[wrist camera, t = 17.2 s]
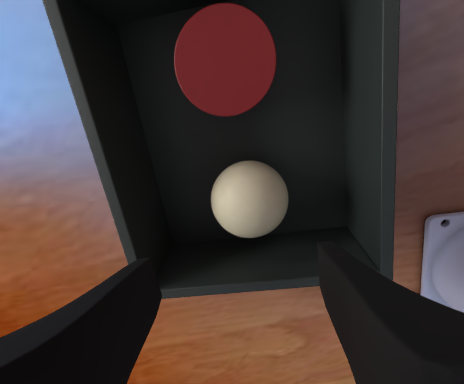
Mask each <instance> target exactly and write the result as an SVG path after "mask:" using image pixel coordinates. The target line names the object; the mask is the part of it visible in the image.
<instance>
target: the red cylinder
mask: <svg viewBox="0 0 464 384" xmlns="http://www.w3.org/2000/svg"><path fill="white" fill-rule="evenodd" d="M276 63H277V56H276V48H275V43H274V40H273V37H272V35H271V32H270V30H269V29H268V27H267V25H266V24H265V23H264V22H263V20H262V19H261V18H260V17H259V16H258V15H257V14H256V13H254V12H253V11H251V10H250V9H248V8H246V7H244V6H241V5H238V4H234V3H216V4H213V5H209V6H207V7H205V8H203V9H201V10H199V11H198V12H196V13H195V14H194V15H193V16H192V17H191V18H190V19H189V20H188V21H187V22H186V24H185V25H184V27H183V28H182V30H181V32H180V34H179V36H178V39H177V42H176V46H175V52H174V67H175V73H176V77H177V80H178V83H179V85H180V87H181V89H182V91H183V93H184V94H185V96H186V97H187V98H188V99H189V100H190V102H191V103H192V104H194V105H195V106H196V107H197V108H199V109H200V110H202V111H204V112H206V113H208V114H212V115H215V116H223V117H228V116H235V115H239V114H242V113H244V112H246V111H248V110H250V109H252V108H253V107H254V106H256V105H257V104H258V103H259V102H260V101H261V100H262V99H263V98H264V96H265V95H266V94H267V92H268V90H269V89H270V86H271V84H272V82H273V79H274V76H275V71H276Z"/></svg>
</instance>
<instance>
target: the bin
mask: <svg viewBox="0 0 464 384" xmlns="http://www.w3.org/2000/svg"><path fill="white" fill-rule="evenodd" d="M216 3H234V4H238V5H241V6H244V7H246V8H248V9H250V10H251V11H253V12H254V13H256V14H257V15H258V16H259V17H260V18H261V19H262V20H263V22H264V23H265V24H266V25H267V27H268V29H269V30H270V32H271V35H272V37H273V40H274V43H275V48H276V56H277V63H276V71H275V76H274V79H273V82H272V84H271V86H270V89H269V90H268V92H267V94H266V95H265V96H264V98H263V99H262V100H261V101H260V102H259V103H258V104H257V105H256V106H254V107H253V108H252V109H250V110H248V111H246V112H244V113H242V114H239V115H235V116H228V117H223V116H215V115H212V114H208V113H206V112H204V111H202V110H200V109H199V108H197V107H196V106H195V105H194V104H192V103H191V102H190V100H189V99H188V98H187V97H186V96H185V94H184V93H183V91H182V89H181V87H180V85H179V83H178V80H177V77H176V73H175V67H174V52H175V46H176V42H177V39H178V36H179V34H180V32H181V30H182V28H183V27H184V25H185V24H186V22H187V21H188V20H189V19H190V18H191V17H192V16H193V15H194V14H195V13H196V12H198V11H199V10H201V9H203V8H205V7H207V6H209V5H213V4H216ZM43 4H44V7H45V10H46V13H47V16H48V19H49V22H50V25H51V28H52V31H53V34H54V37H55V40H56V43H57V47H58V50H59V53H60V56H61V59H62V62H63V65H64V68H65V71H66V74H67V77H68V80H69V83H70V86H71V90H72V93H73V96H74V99H75V102H76V105H77V108H78V111H79V114H80V117H81V120H82V123H83V126H84V129H85V132H86V136H87V139H88V142H89V145H90V148H91V151H92V154H93V157H94V160H95V163H96V166H97V169H98V172H99V175H100V179H101V182H102V185H103V188H104V191H105V194H106V197H107V200H108V203H109V206H110V209H111V212H112V215H113V218H114V222H115V225H116V228H117V231H118V234H119V237H120V240H121V243H122V246H123V249H124V252H125V255H126V258H127V261H128V265H129V264H130V263H132V262H134V261H136V260H137V259H143V258H152V261H153V265H154V268H155V272H156V275H157V279H158V283H159V286H160V290H161V293H162V298H161V299H166V298H178V297H190V296H203V295H215V294H227V293H239V292H252V291H264V290H276V289H288V288H301V287H313V286H320V284H319V269H318V253H317V242H326V241H333V242H334V243H336V244H337V245H339V246H340V247H341V248H343V249H344V250H345V251H347V252H348V253H349V254H351V255H352V256H354V257H355V258H356V259H358V260H359V261H361V262H362V263H364V264H365V265H367V266H368V267H370V268H372V269H373V270H375V271H376V272H378V273H380V274H381V275H383V276H385V277H386V278H388V279H390V280H393V254H394V216H395V177H396V139H397V100H398V62H399V23H400V0H43ZM241 161H258V162H262V163H265V164H267V165H269V166H270V167H272V168H273V169H274V170H276V171H277V172H278V173H279V175H280V176H281V177H282V179H283V180H284V182H285V184H286V187H287V191H288V200H289V201H288V208H287V212H286V214H285V216H284V218H283V220H282V221H281V223H280V224H279V225H278V226H277V227H276V228H275V229H274V230H273V231H271V232H270V233H268V234H266V235H263V236H260V237H256V238H244V237H239V236H236V235H234V234H232V233H230V232H228V231H227V230H226V229H224V228H223V227H222V226H221V225H220V223H219V222H218V221H217V219H216V217H215V216H214V213H213V210H212V206H211V192H212V188H213V185H214V183H215V181H216V179H217V178H218V176H219V175H220V174H221V173H222V171H224V170H225V169H226V168H227V167H229V166H230V165H232V164H235V163H237V162H241Z"/></svg>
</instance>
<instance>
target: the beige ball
mask: <svg viewBox="0 0 464 384" xmlns="http://www.w3.org/2000/svg"><path fill="white" fill-rule="evenodd" d="M288 201H289V200H288V191H287V187H286V184H285V182H284V180H283V179H282V177H281V176H280V175H279V173H278V172H277V171H276V170H274V169H273V168H272V167H270V166H269V165H267V164H265V163H262V162H258V161H241V162H237V163H235V164H232V165H230V166H229V167H227V168H226V169H225V170H224V171H222V173H221V174H220V175H219V176H218V178H217V179H216V181H215V183H214V185H213V188H212V192H211V206H212V210H213V213H214V216H215V217H216V219H217V221H218V222H219V223H220V225H221V226H222V227H223V228H224V229H226V230H227V231H228V232H230V233H232V234H234V235H236V236H239V237H244V238H256V237H260V236H263V235H266V234H268V233H270V232H271V231H273V230H274V229H275V228H276V227H277V226H278V225H279V224H280V223H281V221H282V220H283V218H284V216H285V214H286V212H287V208H288Z"/></svg>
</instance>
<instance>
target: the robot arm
mask: <svg viewBox="0 0 464 384" xmlns="http://www.w3.org/2000/svg"><path fill="white" fill-rule="evenodd" d="M443 220H446V221H445V222H444V223H443V224H441V222H442V221H443ZM317 253H318V269H319V284H320V288H321V292H322V295H323V299H324V302H325V306H326V309H327V311H328V313H329V316H330V318H331V321H332V323H333V326H334V328H335V330H336V333H337V335H338V338H339V340H340V342H341V345H342V347H343V350H344V352H345V354H346V357H347V359H348V362H349V364H350V367H351V370H352V373H353V376H354V379H355V382H356V384H464V212H456V213H446V214H437V215H431V216H429V217H428V218H427V219H426V221H425V232H424V247H423V262H422V278H421V293H420V295H419V294H417V293H415V292H413V291H411V290H409V289H407V288H405V287H403V286H401V285H399V284H397V283H395V282H394V281H392V280H390V279H388V278H386V277H385V276H383V275H381V274H380V273H378V272H376V271H375V270H373V269H372V268H370V267H368V266H367V265H365V264H364V263H362V262H361V261H359V260H358V259H356V258H355V257H354V256H352V255H351V254H349V253H348V252H347V251H345V250H344V249H343V248H341V247H340V246H339V245H337V244H336V243H334V242H333V241H326V242H317ZM161 298H162V293H161V290H160V286H159V283H158V279H157V275H156V272H155V268H154V265H153V261H152V258H143V259H137V260H136V261H134V262H132V263H130V264H129V265H127V266H126V267H124V268H123V269H121V270H120V271H118V272H117V273H115V274H114V275H112V276H111V277H109V278H108V279H106V280H105V281H103V282H102V283H101V284H99V285H98V286H96V287H94V288H93V289H91V290H90V291H88V292H87V293H85V294H83V295H82V296H80V297H79V298H77V299H76V300H74V301H72V302H71V303H69V304H67V305H65V306H64V307H62V308H60V309H58V310H56V311H55V312H53V313H51V314H49V315H47V316H45V317H43V318H41V319H39V320H37V321H35V322H33V323H31V324H29V325H27V326H25V327H23V328H21V329H18V330H16V331H14V332H12V333H10V334H8V335H5V336H3V337H1V338H0V384H127V381H128V379H129V376H130V374H131V371H132V369H133V367H134V365H135V362H136V360H137V358H138V356H139V354H140V351H141V349H142V347H143V345H144V343H145V340H146V338H147V336H148V334H149V332H150V329H151V327H152V325H153V323H154V320H155V318H156V315H157V312H158V309H159V305H160V302H161Z"/></svg>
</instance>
